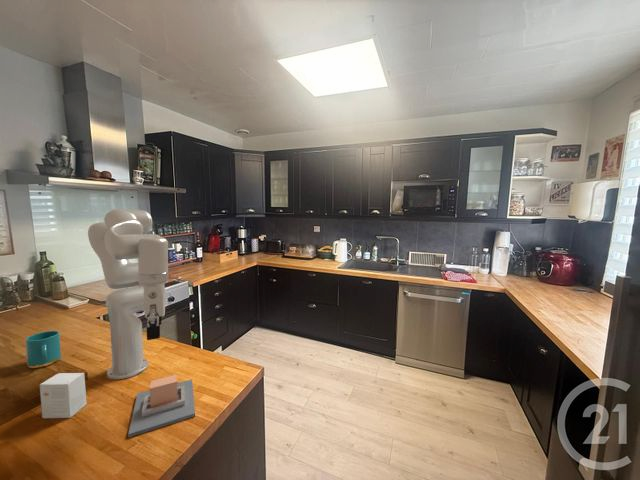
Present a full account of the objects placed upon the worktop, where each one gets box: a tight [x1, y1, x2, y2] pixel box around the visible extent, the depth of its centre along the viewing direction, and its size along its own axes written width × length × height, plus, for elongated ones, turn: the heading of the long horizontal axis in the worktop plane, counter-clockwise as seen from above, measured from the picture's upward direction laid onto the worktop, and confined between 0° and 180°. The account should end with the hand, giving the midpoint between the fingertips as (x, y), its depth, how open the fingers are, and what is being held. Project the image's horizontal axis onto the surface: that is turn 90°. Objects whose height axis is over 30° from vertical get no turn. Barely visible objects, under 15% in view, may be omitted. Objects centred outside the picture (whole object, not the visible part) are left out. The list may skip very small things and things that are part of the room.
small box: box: [39, 372, 88, 419], centre depth 76 cm, size 8×6×10 cm
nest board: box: [127, 378, 196, 439], centre depth 79 cm, size 18×16×2 cm
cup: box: [25, 330, 62, 367], centre depth 99 cm, size 9×12×11 cm
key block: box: [149, 374, 178, 408], centre depth 79 cm, size 7×4×7 cm, turn 120°
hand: (154, 331), depth 79 cm, fingers open, 9 cm apart
